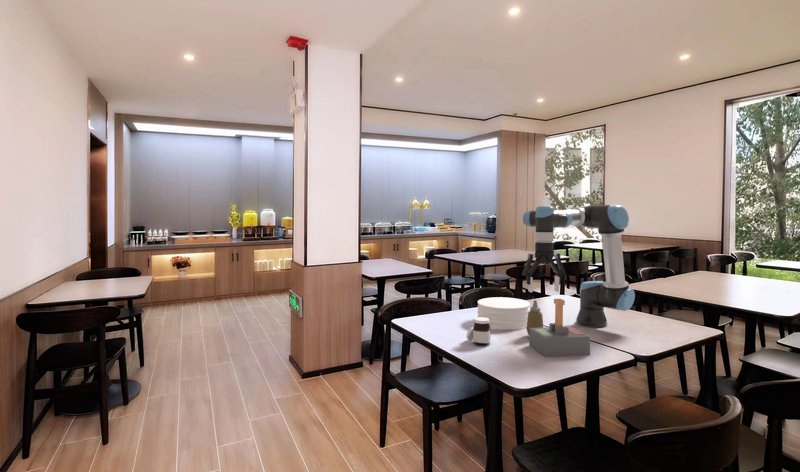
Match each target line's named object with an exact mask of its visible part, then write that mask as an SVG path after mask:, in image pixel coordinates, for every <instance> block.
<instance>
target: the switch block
mask: <svg viewBox="0 0 800 472" xmlns="http://www.w3.org/2000/svg"><path fill="white" fill-rule="evenodd" d="M548 325H549V326H547V327H544V326H543V327H541V328H530V330H529V335H528V339H529V340H528V342H529V346H530V347H531V348H532V349H534V350H535V351H536V352H538V353H539V354H540V355H542V356H543V357H544V358H552V357H553V358H554V357H556V358H558V357H574V356H576V357H577V356H590V355H591V336H590V335H588V334H586V333H585V332H583V331H580V330H579V329H577V328H575V327H573V326H569V325H568V326H567V325H566V326H561V327H555V322H552V323H551V322H550V323H549V324H548Z"/></svg>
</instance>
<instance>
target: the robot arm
mask: <svg viewBox="0 0 800 472" xmlns="http://www.w3.org/2000/svg"><path fill="white" fill-rule="evenodd" d="M629 218H630V217H629V214H628V211H627V209H626V208H625V207H623V205H619V204H618V205H617V204H616V205H615V204H598V205H597V204H596V205H587V206H579V207H573V208H572V209H555V207H554V206H552V205H550V206H547V205H546V206H544V205H542V206H541V205H540V206H537V207H536V208H535V210H527V211H525V212H524V214H523V215H522V223H523V225H524V226H526V227H530V228H535V231H534V232H535V233H534V234H535V235H534V236H535V237H534V239H535V241H536V242H535V244H534V245H535V246H534V250H535V251H534V253H528V254H527V260H526V262H525V265H524V268H523V270H522V273H521V274H522V276H525V281H526V285H527V287H528V292H529V293H533V278H534V277H532V276H533V274H534V273H535V271H536V269H537V268H538V267H539V266H540V264H548V265H549V266H550V267H551V269H552V270H553V272H554V273H555V275H554V291H555V292H560V284H562V277H563V276H565V275H566V270H565V267H564V264H563V263H562V259H561V253H559V252H555V253H554V237H555V236H554V231H555V230H554V228H558V229H559V228H560V229H561V228H568V227H570V226H571V225H572V226H574V227H581V228H582V227H584V228H592V229H597V231H598V232H597V233H598V234H599V235H600V236H601V239H602V242H601V243H602V250H603V251H602V253H603V261H604V262H603V263H604V271H605V281H603V280H591V281H590V280H589V281H583V282H581V284H580V289H579V294H580V297H579V299H580V302H579V311H578V313H577V317H576V319H575V320H576V321H575V322H576V323H577V324H578V325H580V326H583V327H589V328H604V327H607V326H608V320H607V317H606V314H605V310H604V309H605V308H606V309H612V310H616V311H622V312H626V311H629V310H630V309H631V308H632V307H633V304H634V302H635V298H636V293H635V291H634V289H633V288H630V284H629V282H628V281H626V279H625V278H626V277H625V266H624V265H625V264H624V253H623V243H622V241H623V240H622V234H623V233H624V232H625V229H626V228H627V227H628V226H629V221H630V219H629ZM534 258H535V260H534ZM553 258H554V259H555V261H554V260H553ZM533 260H534V262H533ZM555 262H556V264H557V265H556V264H555ZM532 263H533V264H532Z"/></svg>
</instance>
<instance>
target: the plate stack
mask: <svg viewBox="0 0 800 472" xmlns="http://www.w3.org/2000/svg"><path fill="white" fill-rule="evenodd" d="M530 307H531V303H530V302H529V301H528V300H525V299H521V298H514V297H503V296H499V297H498V296H496V297H486V298H481V299H478V300H477V317H485V318H488V319H489V324H490V329H494V330H501V331H502V330H503V331H504V330H505V331H515V330H516V331H517V330H524V329H526V328H527V319H528V312H530Z"/></svg>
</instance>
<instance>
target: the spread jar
mask: <svg viewBox="0 0 800 472" xmlns="http://www.w3.org/2000/svg"><path fill="white" fill-rule="evenodd" d="M473 320H474V323H473V326H471V327H470V328H469V329H468V331H467V332H466V339H467V340H469V341H472V342H473V344H474V345H475V346H481V347H487V346H489V345H490V344H491V328H490V324H489V319H488V318H485V317H478V316H477V317H474V319H473Z"/></svg>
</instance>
